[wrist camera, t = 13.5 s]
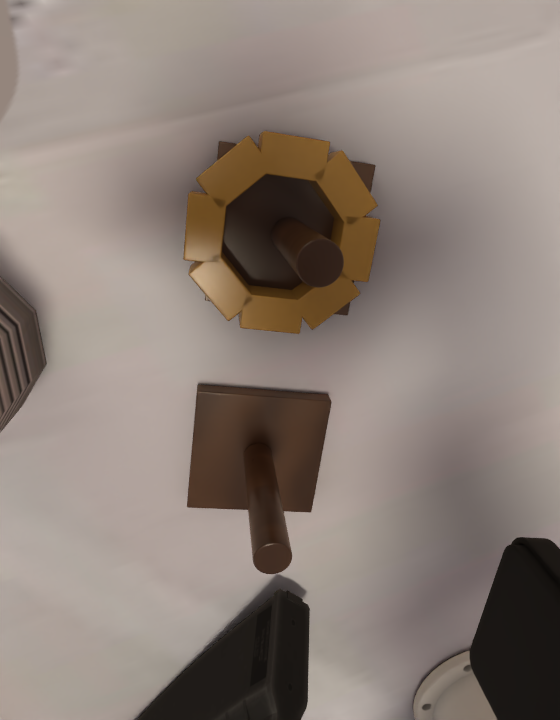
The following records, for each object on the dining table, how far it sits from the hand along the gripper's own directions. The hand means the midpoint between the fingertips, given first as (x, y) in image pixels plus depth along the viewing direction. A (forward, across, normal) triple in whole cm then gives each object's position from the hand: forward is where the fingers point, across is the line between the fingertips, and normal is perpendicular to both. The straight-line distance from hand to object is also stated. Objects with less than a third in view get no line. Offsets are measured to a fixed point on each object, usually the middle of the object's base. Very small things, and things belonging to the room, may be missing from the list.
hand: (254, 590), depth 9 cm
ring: (+23, -2, -4) cm, 24 cm away
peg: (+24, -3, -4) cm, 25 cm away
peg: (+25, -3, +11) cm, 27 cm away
